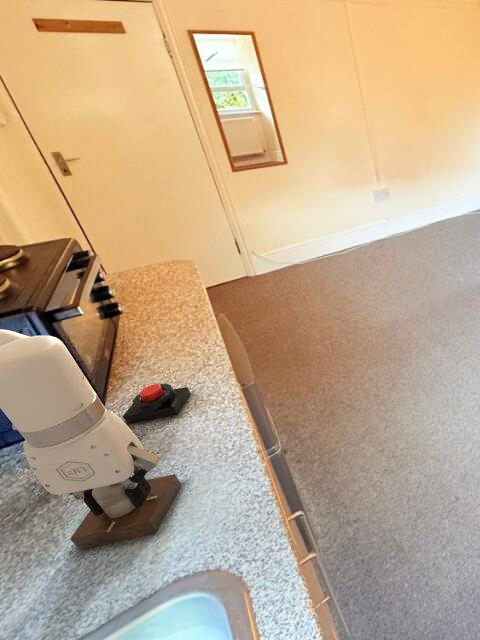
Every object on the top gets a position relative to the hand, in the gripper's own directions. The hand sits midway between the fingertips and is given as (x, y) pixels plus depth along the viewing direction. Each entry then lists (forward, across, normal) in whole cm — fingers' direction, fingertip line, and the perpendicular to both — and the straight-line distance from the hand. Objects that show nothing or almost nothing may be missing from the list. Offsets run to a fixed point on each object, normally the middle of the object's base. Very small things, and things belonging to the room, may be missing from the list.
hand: (124, 501), depth 62 cm
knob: (+1, 0, 0) cm, 1 cm away
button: (0, -8, +25) cm, 26 cm away
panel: (+4, 0, 0) cm, 4 cm away
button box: (+4, -8, +25) cm, 27 cm away
